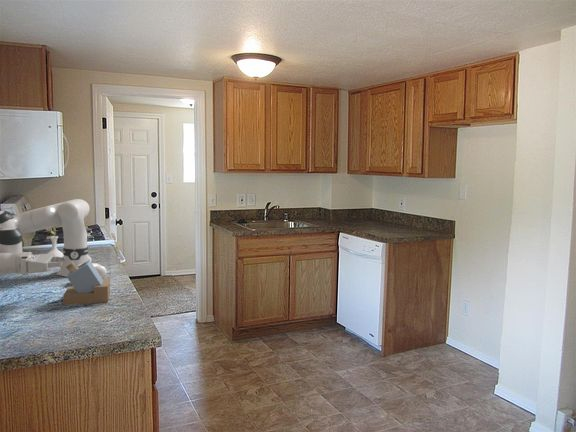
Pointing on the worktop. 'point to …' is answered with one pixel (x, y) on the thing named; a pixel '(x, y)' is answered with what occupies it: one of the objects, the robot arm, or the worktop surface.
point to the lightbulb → (101, 271)
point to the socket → (86, 286)
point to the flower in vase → (54, 245)
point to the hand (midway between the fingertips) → (63, 261)
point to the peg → (72, 267)
